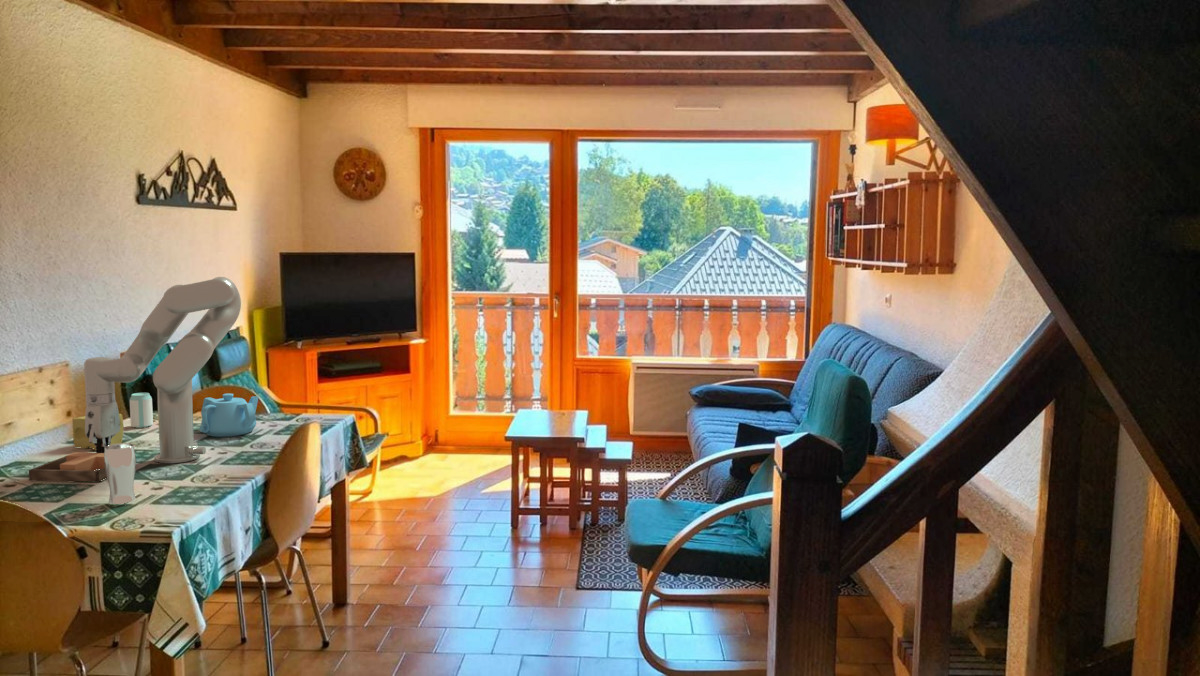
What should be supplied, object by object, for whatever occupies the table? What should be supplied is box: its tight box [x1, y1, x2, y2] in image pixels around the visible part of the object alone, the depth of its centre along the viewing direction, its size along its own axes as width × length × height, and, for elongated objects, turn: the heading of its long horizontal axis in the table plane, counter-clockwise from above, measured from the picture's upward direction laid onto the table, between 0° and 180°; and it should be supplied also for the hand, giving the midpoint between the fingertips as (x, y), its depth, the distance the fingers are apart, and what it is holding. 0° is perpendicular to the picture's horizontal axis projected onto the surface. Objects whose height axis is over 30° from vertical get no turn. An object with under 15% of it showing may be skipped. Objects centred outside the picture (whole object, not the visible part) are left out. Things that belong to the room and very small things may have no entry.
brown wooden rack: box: [28, 455, 107, 482], centre depth 238 cm, size 20×16×3 cm
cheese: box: [72, 413, 124, 450], centre depth 270 cm, size 10×11×10 cm
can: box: [129, 392, 154, 429], centre depth 298 cm, size 7×7×12 cm
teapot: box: [199, 393, 259, 438], centre depth 291 cm, size 19×19×14 cm
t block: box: [60, 451, 105, 471], centre depth 240 cm, size 14×13×4 cm
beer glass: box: [104, 442, 137, 505], centre depth 212 cm, size 7×7×15 cm
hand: (103, 458), depth 248 cm, fingers closed
